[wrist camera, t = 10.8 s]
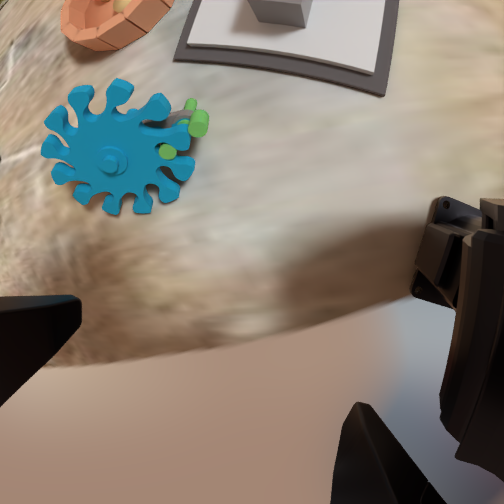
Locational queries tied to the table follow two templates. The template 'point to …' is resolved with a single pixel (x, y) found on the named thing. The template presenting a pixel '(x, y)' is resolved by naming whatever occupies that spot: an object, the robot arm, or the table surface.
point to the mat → (299, 65)
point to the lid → (295, 29)
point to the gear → (123, 146)
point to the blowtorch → (2, 3)
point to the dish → (110, 21)
